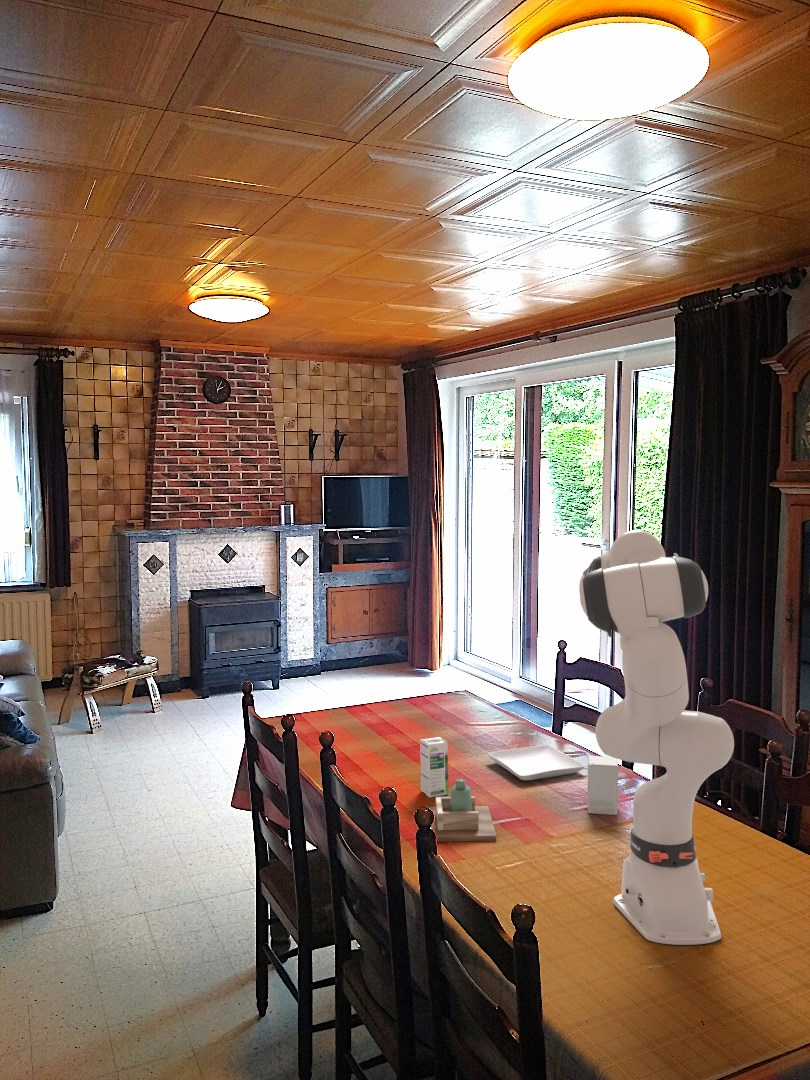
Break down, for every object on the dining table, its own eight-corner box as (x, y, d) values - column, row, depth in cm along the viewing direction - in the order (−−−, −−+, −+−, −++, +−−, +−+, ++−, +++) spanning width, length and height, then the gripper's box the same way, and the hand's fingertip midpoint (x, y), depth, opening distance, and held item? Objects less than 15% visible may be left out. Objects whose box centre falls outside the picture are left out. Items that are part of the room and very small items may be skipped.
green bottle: (473, 824, 208) (472, 783, 207) (452, 825, 208) (451, 785, 207) (469, 815, 213) (468, 776, 212) (449, 817, 213) (448, 777, 212)
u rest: (496, 840, 202) (496, 818, 201) (427, 841, 201) (427, 819, 201) (488, 810, 219) (488, 790, 219) (425, 811, 219) (424, 791, 219)
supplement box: (618, 815, 215) (618, 765, 215) (587, 813, 217) (587, 764, 216) (616, 804, 223) (617, 756, 222) (587, 802, 224) (587, 754, 223)
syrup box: (429, 798, 229) (428, 744, 227) (420, 791, 234) (419, 738, 233) (448, 795, 231) (448, 741, 230) (439, 787, 236) (439, 735, 235)
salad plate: (587, 776, 245) (587, 764, 244) (521, 787, 237) (521, 774, 237) (548, 754, 264) (548, 743, 264) (485, 763, 257) (485, 752, 256)
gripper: (614, 611, 213) (613, 667, 214) (637, 626, 192) (636, 687, 193) (639, 611, 213) (639, 667, 214) (665, 625, 192) (665, 687, 193)
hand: (638, 676), depth 203 cm, fingers open, 8 cm apart
